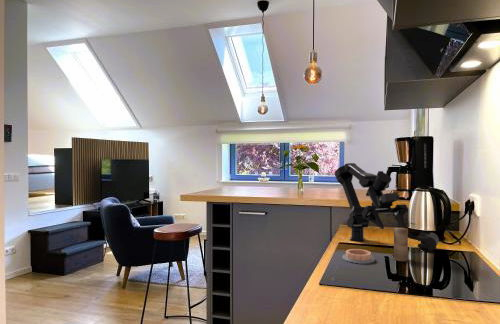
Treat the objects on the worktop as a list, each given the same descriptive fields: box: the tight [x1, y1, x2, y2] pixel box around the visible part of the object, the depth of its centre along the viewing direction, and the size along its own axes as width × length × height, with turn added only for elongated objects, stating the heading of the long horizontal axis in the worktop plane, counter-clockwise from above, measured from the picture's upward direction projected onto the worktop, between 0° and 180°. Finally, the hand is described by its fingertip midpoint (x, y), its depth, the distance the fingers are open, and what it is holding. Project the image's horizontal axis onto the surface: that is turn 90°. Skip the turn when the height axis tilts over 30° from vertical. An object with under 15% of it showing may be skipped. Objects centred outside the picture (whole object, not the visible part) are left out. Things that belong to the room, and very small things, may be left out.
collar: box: [342, 248, 375, 265], centre depth 137 cm, size 12×12×3 cm
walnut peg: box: [393, 227, 409, 262], centre depth 137 cm, size 5×5×12 cm
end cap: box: [417, 232, 440, 253], centre depth 151 cm, size 10×7×7 cm
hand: (393, 228), depth 141 cm, fingers open, 9 cm apart
